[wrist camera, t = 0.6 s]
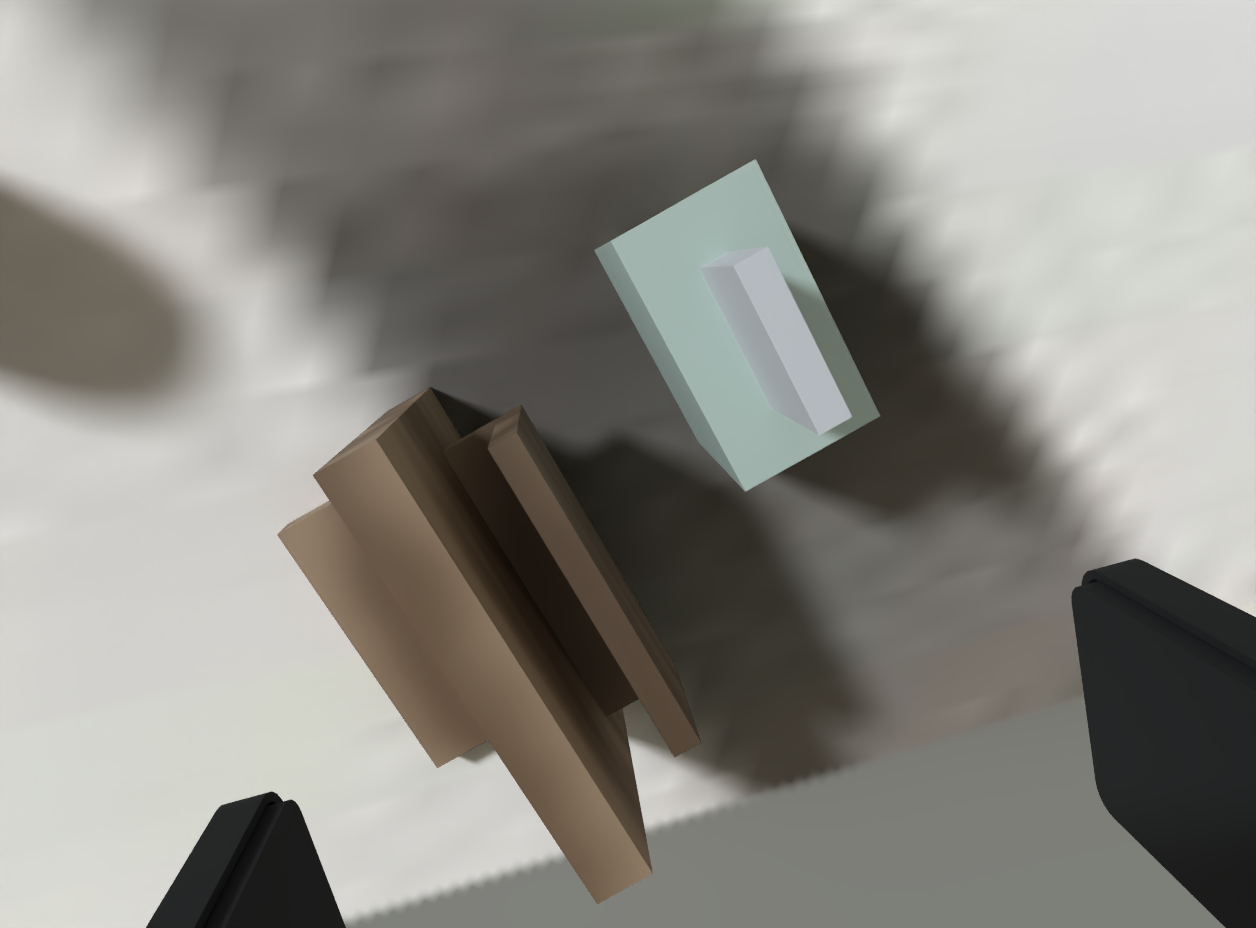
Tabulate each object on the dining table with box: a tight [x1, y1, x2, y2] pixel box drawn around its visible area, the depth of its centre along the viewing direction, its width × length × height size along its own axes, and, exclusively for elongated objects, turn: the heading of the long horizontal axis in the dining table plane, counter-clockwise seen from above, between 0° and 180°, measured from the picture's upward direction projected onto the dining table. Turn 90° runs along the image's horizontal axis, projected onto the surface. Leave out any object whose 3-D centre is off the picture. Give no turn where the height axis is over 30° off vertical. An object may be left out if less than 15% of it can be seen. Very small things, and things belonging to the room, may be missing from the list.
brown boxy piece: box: [277, 387, 701, 904], centre depth 32 cm, size 11×16×12 cm
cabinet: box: [594, 159, 880, 492], centre depth 30 cm, size 5×9×14 cm, turn 29°
